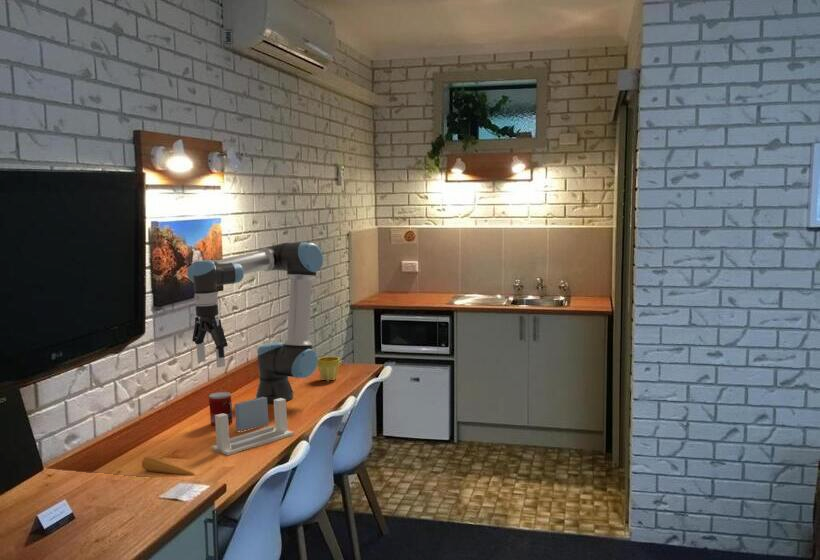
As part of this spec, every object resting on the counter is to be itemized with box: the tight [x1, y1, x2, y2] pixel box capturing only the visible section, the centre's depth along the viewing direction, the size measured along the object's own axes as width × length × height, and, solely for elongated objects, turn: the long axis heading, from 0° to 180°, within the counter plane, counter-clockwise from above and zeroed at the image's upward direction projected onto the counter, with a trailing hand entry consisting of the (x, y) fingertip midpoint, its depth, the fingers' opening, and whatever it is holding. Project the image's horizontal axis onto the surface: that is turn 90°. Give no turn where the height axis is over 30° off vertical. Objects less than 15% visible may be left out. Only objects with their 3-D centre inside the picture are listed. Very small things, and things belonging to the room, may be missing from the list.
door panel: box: [234, 397, 270, 433], centre depth 259 cm, size 12×2×10 cm, turn 136°
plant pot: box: [316, 356, 341, 380], centre depth 328 cm, size 10×10×10 cm
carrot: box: [141, 455, 196, 476], centre depth 217 cm, size 20×4×4 cm, turn 71°
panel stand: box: [211, 398, 295, 456], centre depth 242 cm, size 26×10×12 cm, turn 136°
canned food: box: [208, 391, 233, 427], centre depth 265 cm, size 8×8×11 cm
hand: (211, 364), depth 254 cm, fingers open, 13 cm apart
